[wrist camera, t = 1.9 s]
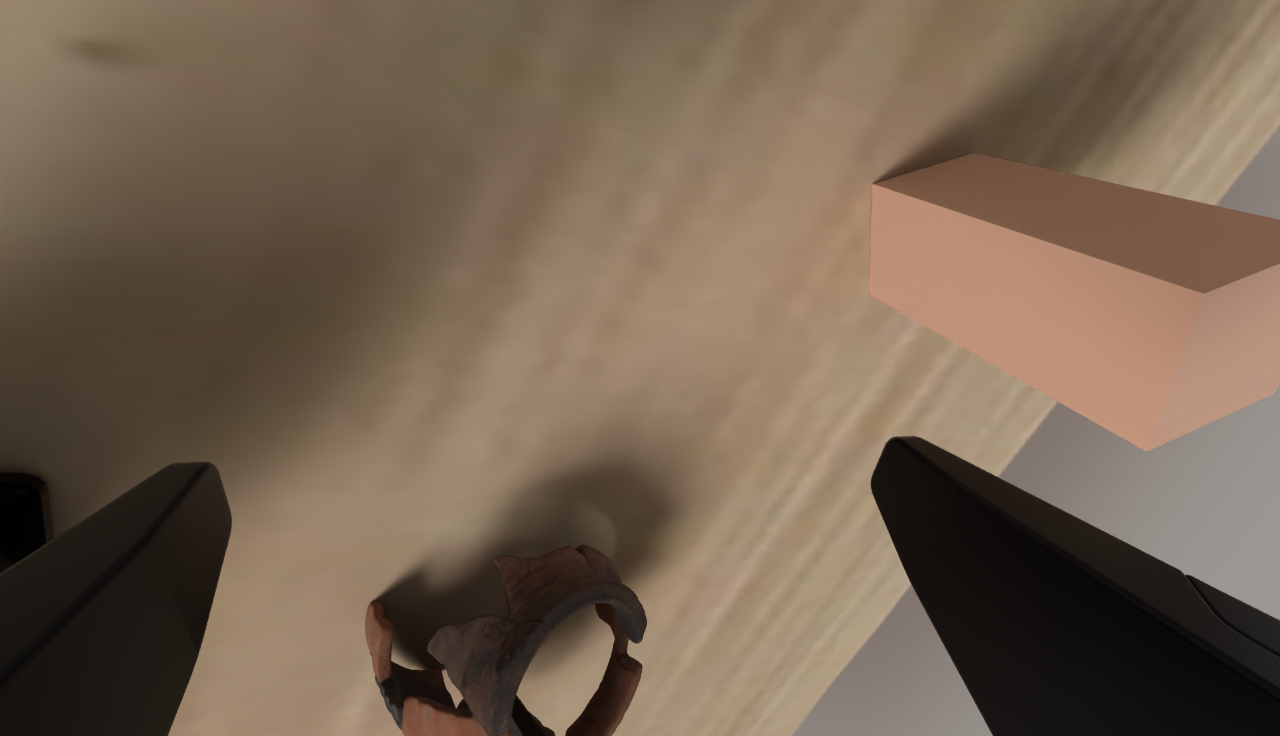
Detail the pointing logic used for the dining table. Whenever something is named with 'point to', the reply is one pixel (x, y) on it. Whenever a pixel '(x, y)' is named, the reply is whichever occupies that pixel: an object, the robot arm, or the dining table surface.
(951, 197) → the terracotta block
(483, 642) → the brown curved piece
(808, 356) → the dining table surface
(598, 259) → the dining table surface
